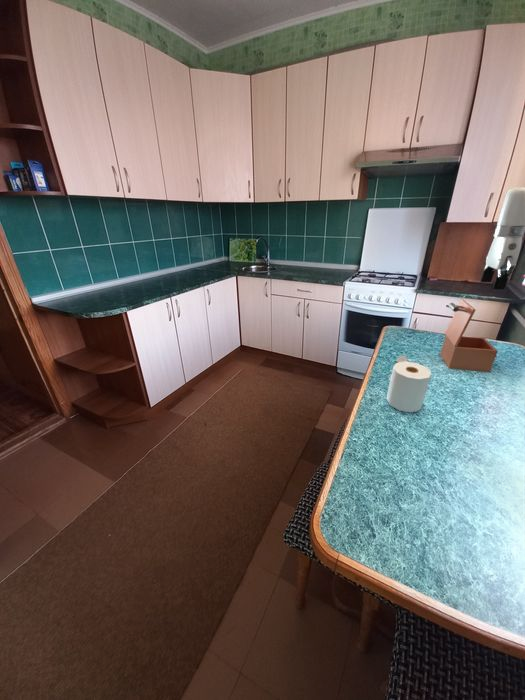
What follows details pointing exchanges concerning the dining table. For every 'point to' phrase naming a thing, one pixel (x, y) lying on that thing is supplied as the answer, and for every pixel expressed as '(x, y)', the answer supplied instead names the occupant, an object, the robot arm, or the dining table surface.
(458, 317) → the brown box lid
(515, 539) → the dining table surface
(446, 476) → the dining table surface
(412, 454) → the dining table surface
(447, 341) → the brown box body
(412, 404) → the toilet paper
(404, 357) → the spoon
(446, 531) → the dining table surface
